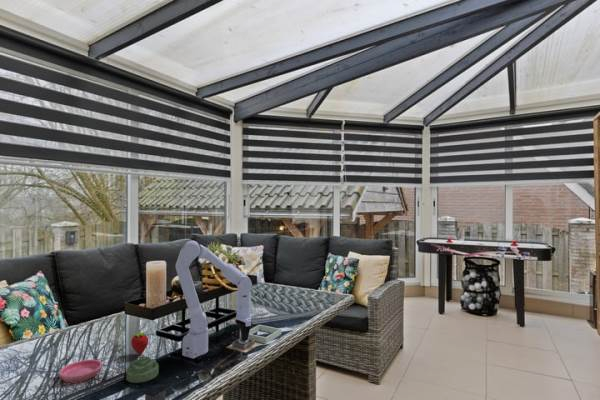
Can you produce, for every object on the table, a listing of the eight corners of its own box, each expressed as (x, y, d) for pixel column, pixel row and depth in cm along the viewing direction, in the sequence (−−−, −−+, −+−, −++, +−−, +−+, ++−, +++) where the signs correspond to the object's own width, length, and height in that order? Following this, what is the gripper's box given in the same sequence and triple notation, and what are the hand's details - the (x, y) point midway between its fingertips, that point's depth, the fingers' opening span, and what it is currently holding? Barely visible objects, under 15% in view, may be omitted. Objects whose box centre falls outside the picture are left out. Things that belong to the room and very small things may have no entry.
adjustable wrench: (229, 326, 164) (229, 322, 164) (223, 323, 169) (223, 319, 169) (270, 314, 181) (270, 311, 181) (263, 312, 186) (263, 309, 186)
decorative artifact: (160, 378, 113) (157, 366, 121) (160, 357, 113) (157, 346, 122) (126, 386, 108) (126, 372, 117) (126, 364, 108) (126, 352, 117)
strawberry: (135, 360, 126) (135, 333, 126) (128, 354, 131) (128, 328, 131) (151, 355, 130) (151, 329, 130) (143, 350, 135) (143, 325, 135)
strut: (250, 346, 136) (250, 326, 137) (239, 347, 135) (239, 327, 135) (247, 342, 140) (247, 322, 140) (237, 344, 138) (237, 324, 139)
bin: (266, 345, 139) (266, 338, 139) (243, 340, 145) (243, 333, 145) (281, 335, 150) (281, 329, 150) (259, 331, 156) (259, 324, 156)
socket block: (245, 354, 131) (245, 348, 131) (225, 349, 135) (226, 343, 135) (260, 345, 139) (260, 339, 139) (241, 340, 144) (241, 335, 144)
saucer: (109, 368, 120) (110, 359, 120) (86, 386, 108) (86, 376, 108) (76, 367, 121) (76, 358, 121) (49, 385, 108) (49, 375, 108)
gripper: (258, 308, 133) (258, 343, 133) (248, 299, 146) (248, 331, 146) (240, 310, 130) (240, 346, 130) (232, 301, 143) (232, 333, 143)
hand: (243, 338), depth 137 cm, fingers closed on strut, 3 cm apart
